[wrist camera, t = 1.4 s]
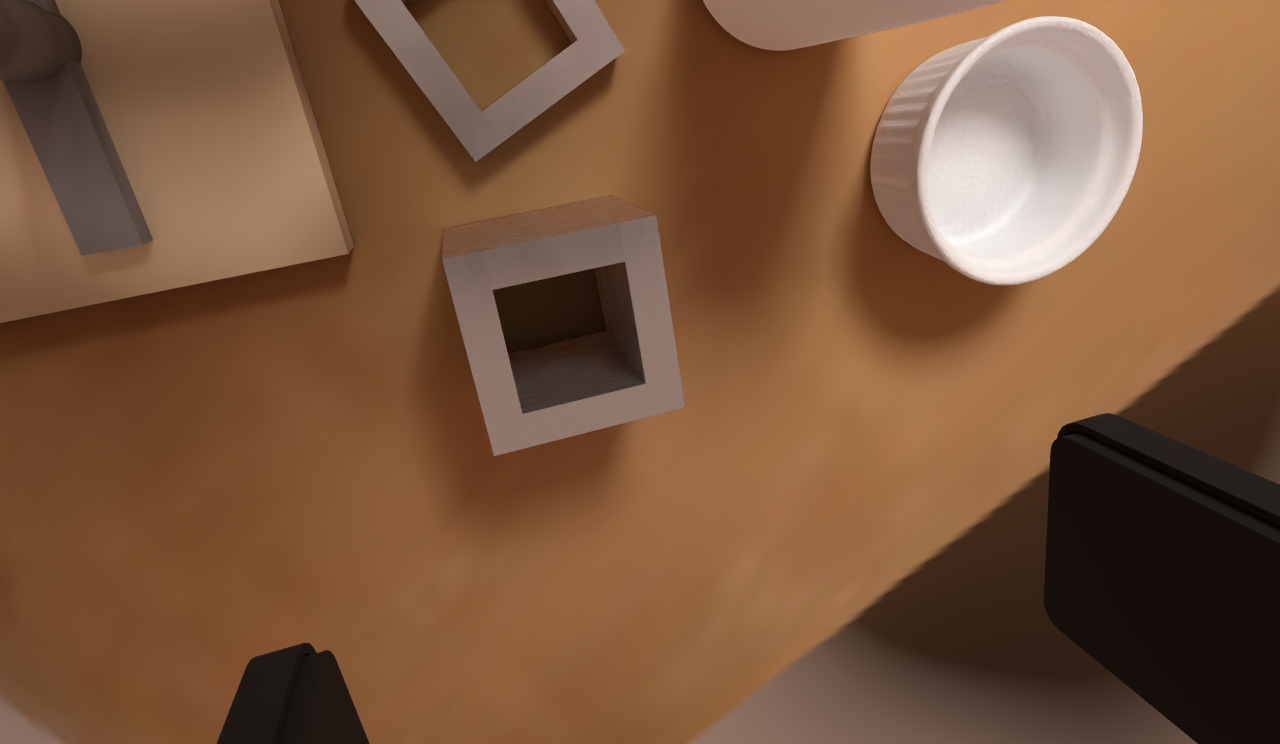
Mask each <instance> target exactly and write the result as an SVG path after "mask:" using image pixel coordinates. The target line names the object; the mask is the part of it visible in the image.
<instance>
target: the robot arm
mask: <svg viewBox="0 0 1280 744" xmlns="http://www.w3.org/2000/svg"><path fill="white" fill-rule="evenodd" d="M1044 606H1045V609H1046V612H1047V614H1048V616H1049V618H1050V620H1051V621H1052V622H1053V624H1054V625H1055V626H1056V627H1057V628H1058V629H1059V630H1060V631H1061V632H1062V633H1064V634H1065V635H1066V636H1067V637H1069V638H1070V639H1071V640H1072V641H1073V642H1075V643H1076V644H1077V645H1078V646H1080V647H1081V648H1082V649H1083V650H1084V651H1086V652H1087V653H1088V654H1089V655H1091V656H1092V657H1093V658H1094V659H1095V660H1097V661H1098V662H1099V663H1100V664H1102V665H1103V666H1104V667H1105V668H1106V669H1108V670H1109V671H1110V672H1111V673H1112V674H1114V675H1115V676H1116V677H1117V678H1119V679H1120V680H1121V681H1122V682H1123V683H1125V684H1126V685H1127V686H1128V687H1130V688H1131V689H1132V690H1133V691H1134V692H1136V693H1137V694H1138V695H1139V696H1141V697H1142V698H1143V699H1144V700H1145V701H1147V702H1148V703H1149V704H1150V705H1152V706H1153V707H1154V708H1155V709H1156V710H1157V711H1159V712H1160V713H1161V714H1162V715H1164V716H1165V717H1166V718H1167V719H1168V720H1170V721H1171V722H1172V723H1173V724H1175V725H1176V726H1177V727H1178V728H1180V729H1181V730H1182V731H1183V732H1184V733H1185V734H1187V735H1188V736H1189V737H1190V738H1192V739H1193V740H1194V741H1195V742H1196V743H1198V744H1280V485H1279V484H1277V483H1275V482H1272V481H1270V480H1268V479H1265V478H1263V477H1261V476H1258V475H1256V474H1253V473H1251V472H1248V471H1246V470H1244V469H1242V468H1239V467H1237V466H1235V465H1232V464H1230V463H1228V462H1225V461H1223V460H1220V459H1218V458H1216V457H1214V456H1211V455H1209V454H1207V453H1204V452H1202V451H1200V450H1197V449H1195V448H1193V447H1190V446H1188V445H1185V444H1183V443H1181V442H1178V441H1176V440H1174V439H1171V438H1169V437H1167V436H1164V435H1162V434H1159V433H1157V432H1155V431H1153V430H1150V429H1148V428H1146V427H1143V426H1141V425H1139V424H1136V423H1134V422H1131V421H1129V420H1127V419H1125V418H1122V417H1120V416H1117V415H1114V414H1110V413H1107V414H1100V415H1096V416H1093V417H1090V418H1086V419H1083V420H1079V421H1076V422H1072V423H1069V424H1067V425H1065V426H1063V427H1062V428H1061V430H1060V431H1059V433H1058V437H1057V439H1056V440H1055V441H1054V442H1053V444H1052V447H1051V455H1050V476H1049V499H1048V521H1047V543H1046V564H1045V587H1044ZM217 744H369V742H368V739H367V737H366V734H365V731H364V729H363V726H362V724H361V721H360V719H359V716H358V714H357V711H356V709H355V706H354V704H353V701H352V699H351V696H350V694H349V691H348V689H347V686H346V684H345V681H344V679H343V676H342V674H341V671H340V669H339V666H338V664H337V661H336V659H335V657H334V655H333V654H332V652H331V651H328V650H326V651H323V652H319V653H316V651H315V649H314V648H313V647H312V646H311V644H309V643H302V644H299V645H295V646H292V647H288V648H285V649H282V650H278V651H275V652H271V653H268V654H264V655H261V656H257V657H254V658H253V659H251V660H250V662H249V663H248V665H247V667H246V669H245V672H244V675H243V677H242V680H241V682H240V685H239V687H238V690H237V693H236V695H235V698H234V700H233V703H232V706H231V708H230V711H229V713H228V716H227V719H226V721H225V724H224V726H223V729H222V732H221V734H220V737H219V739H218V742H217Z"/></svg>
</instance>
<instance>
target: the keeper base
mask: <svg viewBox="0 0 1280 744" xmlns="http://www.w3.org/2000/svg"><path fill="white" fill-rule="evenodd" d="M353 247H354V244H353V240H352V237H351V234H350V231H349V227H348V224H347V221H346V218H345V214H344V211H343V208H342V205H341V201H340V198H339V195H338V192H337V188H336V185H335V182H334V179H333V175H332V172H331V169H330V166H329V162H328V159H327V156H326V153H325V149H324V146H323V143H322V140H321V136H320V133H319V130H318V127H317V124H316V120H315V117H314V114H313V111H312V107H311V104H310V101H309V98H308V94H307V91H306V88H305V85H304V81H303V78H302V75H301V72H300V68H299V65H298V62H297V59H296V55H295V52H294V49H293V46H292V42H291V39H290V36H289V33H288V29H287V26H286V23H285V20H284V16H283V13H282V10H281V7H280V3H279V0H0V323H3V322H8V321H13V320H18V319H23V318H28V317H33V316H38V315H43V314H48V313H53V312H58V311H63V310H68V309H73V308H78V307H84V306H89V305H94V304H99V303H104V302H109V301H114V300H119V299H124V298H129V297H134V296H139V295H144V294H149V293H154V292H159V291H164V290H169V289H174V288H179V287H184V286H189V285H194V284H199V283H204V282H209V281H214V280H219V279H225V278H230V277H235V276H240V275H245V274H250V273H255V272H260V271H265V270H270V269H275V268H280V267H285V266H290V265H295V264H300V263H305V262H310V261H315V260H320V259H325V258H330V257H335V256H340V255H345V254H349V253H350V251H351V250H352V249H353Z"/></svg>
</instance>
